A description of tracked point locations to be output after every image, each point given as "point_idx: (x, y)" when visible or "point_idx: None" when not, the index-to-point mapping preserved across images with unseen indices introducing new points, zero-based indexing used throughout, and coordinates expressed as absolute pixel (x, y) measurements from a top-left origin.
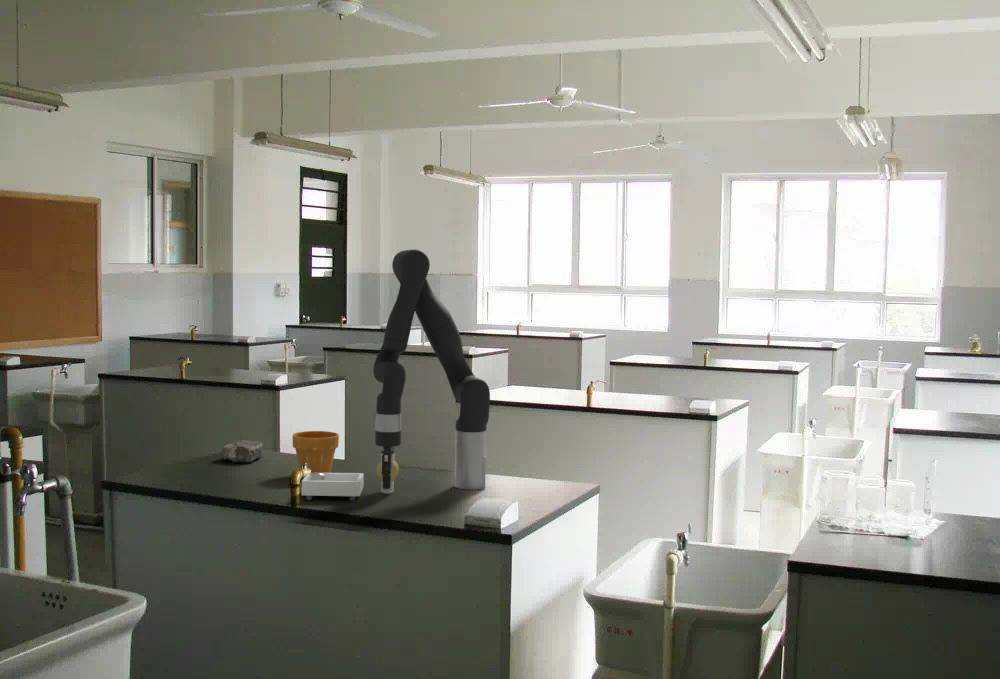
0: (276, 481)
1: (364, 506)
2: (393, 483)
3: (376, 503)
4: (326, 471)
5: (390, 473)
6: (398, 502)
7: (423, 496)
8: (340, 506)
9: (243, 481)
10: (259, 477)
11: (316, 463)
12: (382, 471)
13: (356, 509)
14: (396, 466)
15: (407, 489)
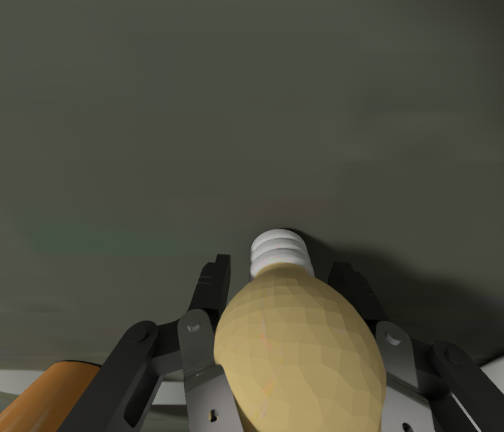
0: (168, 408)
1: (470, 305)
2: (294, 256)
3: (445, 277)
4: (85, 383)
5: (454, 352)
6: (473, 205)
7: (385, 57)
8: None
9: (180, 427)
10: None
11: None
12: (450, 401)
13: (499, 321)
14: (357, 362)
15: (193, 163)
